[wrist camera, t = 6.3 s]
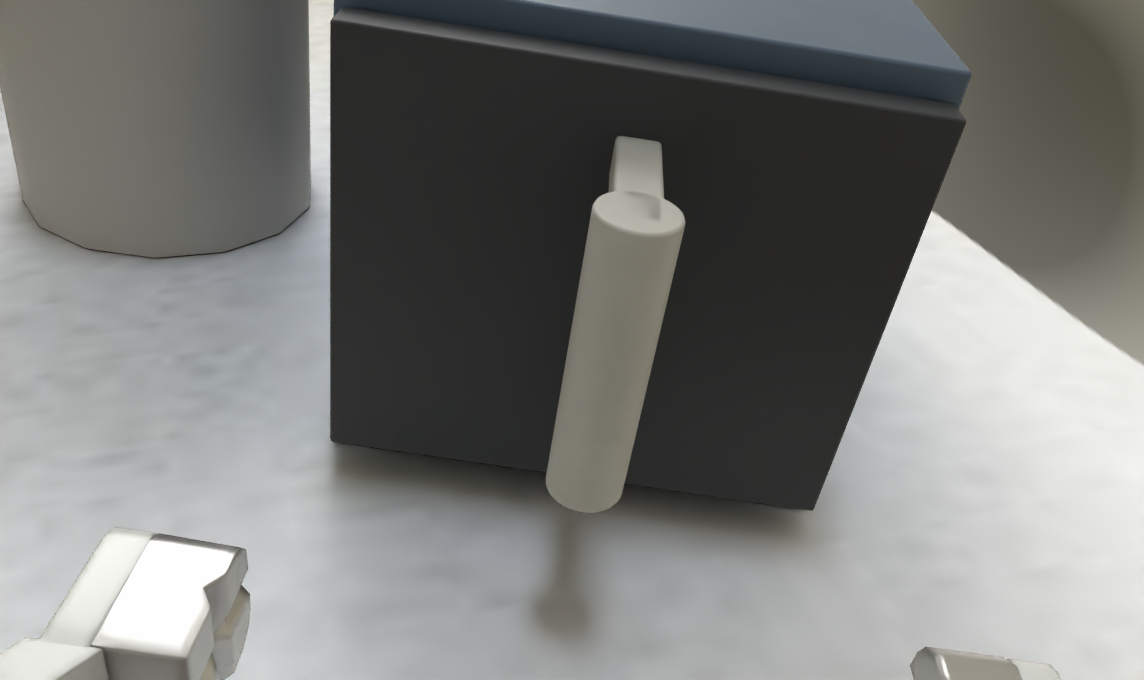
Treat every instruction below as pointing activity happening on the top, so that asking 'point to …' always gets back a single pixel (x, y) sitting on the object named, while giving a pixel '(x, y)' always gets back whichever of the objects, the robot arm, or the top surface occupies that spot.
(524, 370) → the drawer with handle
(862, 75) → the blue cabinet
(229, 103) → the cup
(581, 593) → the top surface
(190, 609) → the robot arm
